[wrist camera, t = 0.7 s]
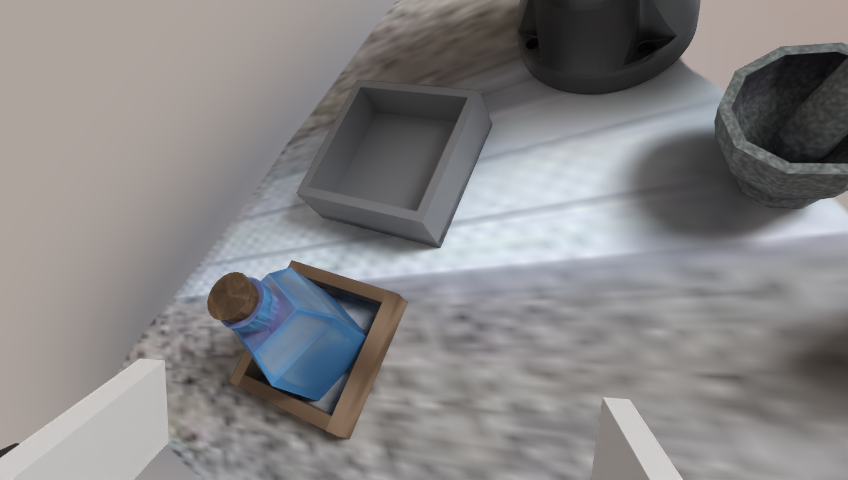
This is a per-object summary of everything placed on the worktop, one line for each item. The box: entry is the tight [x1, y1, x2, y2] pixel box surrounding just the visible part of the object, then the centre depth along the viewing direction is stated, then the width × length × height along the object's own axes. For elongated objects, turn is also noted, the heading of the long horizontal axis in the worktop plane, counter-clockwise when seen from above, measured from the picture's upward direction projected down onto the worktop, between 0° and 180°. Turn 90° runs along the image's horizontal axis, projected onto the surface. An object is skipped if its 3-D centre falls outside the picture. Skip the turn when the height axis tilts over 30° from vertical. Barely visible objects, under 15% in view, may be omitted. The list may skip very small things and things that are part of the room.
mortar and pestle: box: [715, 43, 848, 208], centre depth 30 cm, size 11×9×12 cm
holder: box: [229, 261, 408, 439], centre depth 41 cm, size 11×11×2 cm
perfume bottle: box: [207, 267, 367, 401], centre depth 36 cm, size 6×6×12 cm
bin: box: [297, 80, 492, 248], centre depth 45 cm, size 13×13×4 cm
